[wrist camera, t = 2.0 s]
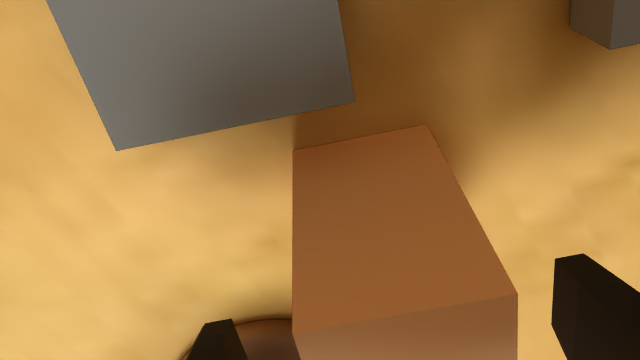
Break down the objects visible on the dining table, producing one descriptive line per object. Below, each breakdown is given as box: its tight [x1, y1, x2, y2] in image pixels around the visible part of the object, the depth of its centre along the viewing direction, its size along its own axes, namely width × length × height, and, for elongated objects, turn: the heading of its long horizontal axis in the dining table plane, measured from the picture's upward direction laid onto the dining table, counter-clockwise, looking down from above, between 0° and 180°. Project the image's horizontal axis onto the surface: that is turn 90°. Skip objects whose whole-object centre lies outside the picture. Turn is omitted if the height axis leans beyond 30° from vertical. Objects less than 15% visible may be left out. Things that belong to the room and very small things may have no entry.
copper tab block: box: [292, 124, 518, 360], centre depth 13 cm, size 4×4×7 cm
